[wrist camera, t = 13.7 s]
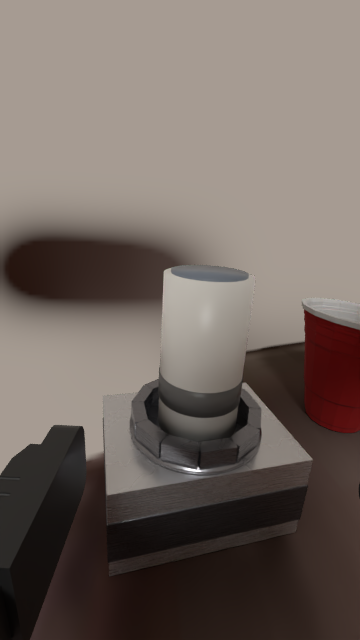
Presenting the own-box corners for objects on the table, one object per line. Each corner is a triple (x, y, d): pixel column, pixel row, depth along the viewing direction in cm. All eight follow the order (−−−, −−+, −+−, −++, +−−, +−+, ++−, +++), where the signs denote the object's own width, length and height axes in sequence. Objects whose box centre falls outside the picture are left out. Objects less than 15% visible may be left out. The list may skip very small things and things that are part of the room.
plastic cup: (422, 442, 30) (466, 325, 26) (329, 461, 26) (364, 331, 23) (337, 384, 39) (360, 293, 36) (263, 393, 36) (279, 295, 32)
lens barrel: (218, 395, 24) (233, 264, 21) (250, 442, 19) (276, 281, 16) (151, 402, 22) (155, 263, 19) (166, 454, 18) (175, 280, 14)
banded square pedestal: (238, 439, 29) (248, 366, 26) (296, 532, 20) (319, 439, 18) (104, 458, 25) (101, 378, 23) (108, 577, 17) (104, 472, 15)
